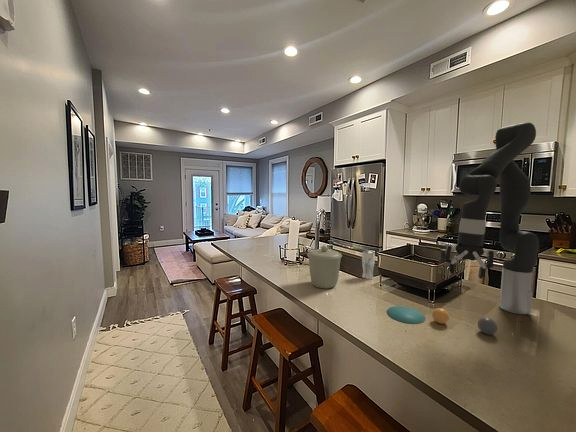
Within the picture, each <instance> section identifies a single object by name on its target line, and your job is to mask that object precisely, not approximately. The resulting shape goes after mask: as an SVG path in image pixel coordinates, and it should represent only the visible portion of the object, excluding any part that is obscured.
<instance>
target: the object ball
mask: <svg viewBox="0 0 576 432" xmlns="http://www.w3.org/2000/svg"><path fill="white" fill-rule="evenodd" d="M431 316H432V318H433V320H434V321H435V322H436V323H438V324H442V325H443V324H446V323H448V321H449V320H450V314H449V312H448V311H447V310H446V309H444V308H441V307H436V308H434V309H433V310H432V313H431Z"/></svg>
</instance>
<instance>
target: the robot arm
mask: <svg viewBox="0 0 576 432" xmlns="http://www.w3.org/2000/svg"><path fill="white" fill-rule="evenodd" d="M536 137H537V130H536V127H535V125H534V124H533V123H532V122H529V121H528V122H526V121H525V122H520V123H516V124H515V123H514V124H512V125H511V124H510V125H507V126H503V127H500V128H499V129H497V131H496V133H495V149H496V150H495V151H493V152H492V153H490V154H489V155H488V156H486V157H485V158H484V160H482V162H481V163H480V164H479V165H478V166H477V167H475V168H474V169H472V170H470V171H469V172H467V174H465V175H464V176H463V177H462V178H461V179H460V182H459V183H458V184H459V185H458V189H459V191H460V193H462V194H463V195H466V196H477V198H476V200H474V201H467V202H464V203H463V204H462V209H461V217H460V222H459V227H458V236H457V244H456V246H454V245H450V244H447V245H446V246H445V249H446V252H445V257H444V259H445V261H446V262H449V263H450V265H449V271H450V272H451V274H452V275H454V274H455V268H456V263H457V262H458V261H460V260H461V259H463V260H464V261H465V260H469V261H476V262H477V263H478V265H479V267H478V268H479V269H478V277H477V278H478V279H480V280H481V279H483V278H485V276H486V271H487V269H489V268H491V269H492V268H493V267H494V255H495V253H494V251H493V250H492V249H484V240H485V234H486V220H487V219H486V218H487V211H488V208H489V205H490V203H491V200H492V198H493V196H494V194H495V192H496V190H497V187H498V181H497V179H498V178H499V198H500V225H499V226H500V228H499V244H500V247H502V249H503V250H505V251H508V252H513V253H514V255H513V258H512V259H504V261H503V262H502V268H501V269H502V271H501V282H500V283H501V284H500V294H499V308H501V309H502V310H504V311H506V312H509V313H511V314H515V315H529V316H531V311H532V310H531V309H532V303H533V302H532V301H533V291H532V280H533V272H534V268H535V266H536V264H537V259H538V253H539V247H540V239H539V238H538V235H537V234H535V233H534V232H530V231H523V230H520V216H521V214H522V213H523V211H524V209H526V207H527V205H528V204H529V202H530V200H531V197H532V196H531V195H532V194H531V193H532V192H531V180H530V179H529V177H528V176H527V174H525V172H524V171H523V170H522V169H521V168H520V167H519V166H518V165H517V164H516V162H515V161H514V159H516V158H517V157H518V156H519V155H520V154H521V153H523V152H524V151H525V150H527V149H528V148H529V147H530V146H531V145H532V144H533V143H534V142H535V140H536ZM454 250H455V251H456V254H455V255H453V257H452V258H451V254H452V252H454ZM483 254H484V255H485V256H486V263H485V262H484V261H483V259H482V258H481V256H483ZM449 258H450V259H449Z"/></svg>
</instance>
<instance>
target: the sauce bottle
mask: <svg viewBox="0 0 576 432" xmlns="http://www.w3.org/2000/svg"><path fill="white" fill-rule="evenodd" d="M445 252H446V248H441V249H440V259H439V260H438V262H437V265H438V264H441V263H444V262H446V261H445V259H444V257H445ZM449 259H451V257H450V258H449ZM451 288H452V285H451V286H449V287H448V290H447V291H450V290H451Z"/></svg>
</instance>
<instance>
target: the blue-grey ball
mask: <svg viewBox="0 0 576 432" xmlns="http://www.w3.org/2000/svg"><path fill="white" fill-rule="evenodd" d="M477 328H478V329H479V330H480V332H481V333H483V334H485V335H494V334H496V333H497V332H498V325H497V323H496V321H495V320H494V319H492V318H490V317H486V316H485V317H481V318H479V319H478V321H477Z"/></svg>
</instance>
